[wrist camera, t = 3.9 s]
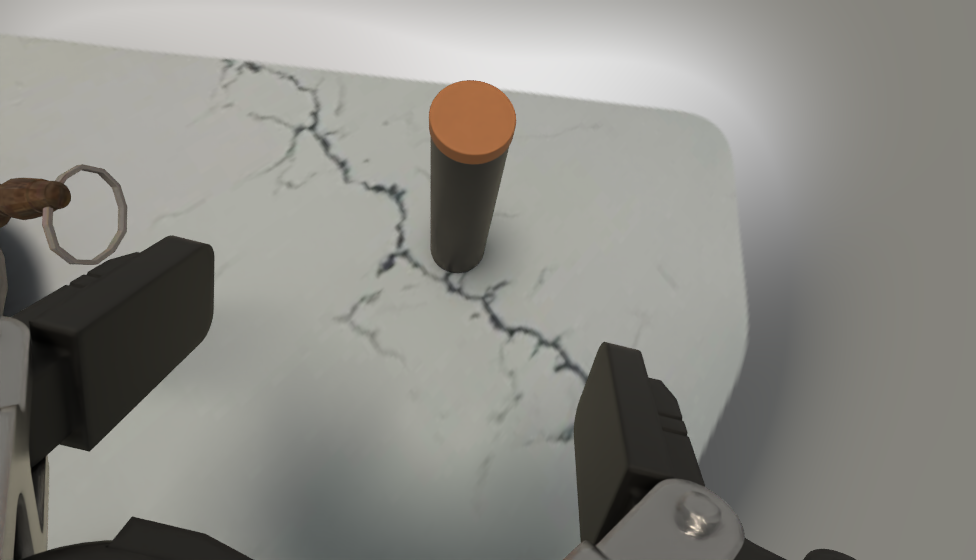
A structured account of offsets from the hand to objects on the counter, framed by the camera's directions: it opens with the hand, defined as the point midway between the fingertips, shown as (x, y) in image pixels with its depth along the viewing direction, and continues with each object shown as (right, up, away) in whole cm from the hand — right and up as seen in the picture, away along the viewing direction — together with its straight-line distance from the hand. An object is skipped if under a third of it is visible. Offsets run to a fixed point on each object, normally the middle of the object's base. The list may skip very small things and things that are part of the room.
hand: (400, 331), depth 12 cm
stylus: (0, +3, +16) cm, 17 cm away
